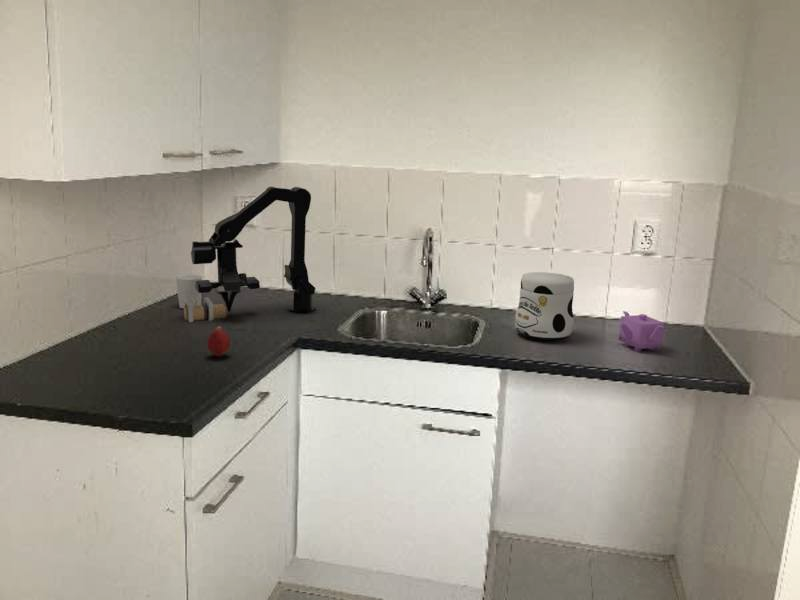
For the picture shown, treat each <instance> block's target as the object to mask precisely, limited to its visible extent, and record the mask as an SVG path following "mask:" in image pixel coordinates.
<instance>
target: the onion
mask: <svg viewBox="0 0 800 600" xmlns="http://www.w3.org/2000/svg"><path fill="white" fill-rule="evenodd" d="M206 347H207V349H208V351H209V352H210V353H211V354H213V355H214V356H215V357H218V358H220V357H222V356H223V355H225V353H227V352H228V350H229V349H231V337H230V336H229V334H227V332H225V331H223V330H222V327H221V326H217V327H216V329H215V330H213V331H212V332H211V333H210V334H209V336H208V338H207V340H206Z"/></svg>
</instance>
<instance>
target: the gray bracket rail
mask: <svg viewBox="0 0 800 600" xmlns="http://www.w3.org/2000/svg"><path fill="white" fill-rule="evenodd" d="M203 299H204V300H203V301H204V302H203V303H204V304H203V305H208V312H209V319H208V321H209V322H210V321H212V322H213V321H214V319H213V304H214V303H213V301H212V300H211V299H210V298H209V297H208V296H207V297H203ZM197 303H198V301H197V299H194V306H197ZM184 304H185V306H188V321H187V322H188V323H194V320H193V305H192V303H191V302H190V300H189V299H184Z"/></svg>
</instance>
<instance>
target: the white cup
mask: <svg viewBox="0 0 800 600" xmlns="http://www.w3.org/2000/svg"><path fill="white" fill-rule="evenodd" d="M175 278H176V287H177V288H176V289H177V291H176V292H177V298H178V306H179V308H180V309H182V308H183V310H184V306H185V304H184V299H189V300H190V302H191V303H192V305H193V306H194V299H197V301H198V303H197V306H198V305H202V293H198V291H197V290H196V282H197V281H198V280H203V277H202V275H201V274H190V273H189V274H180V275H178V276H176V277H175Z"/></svg>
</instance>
